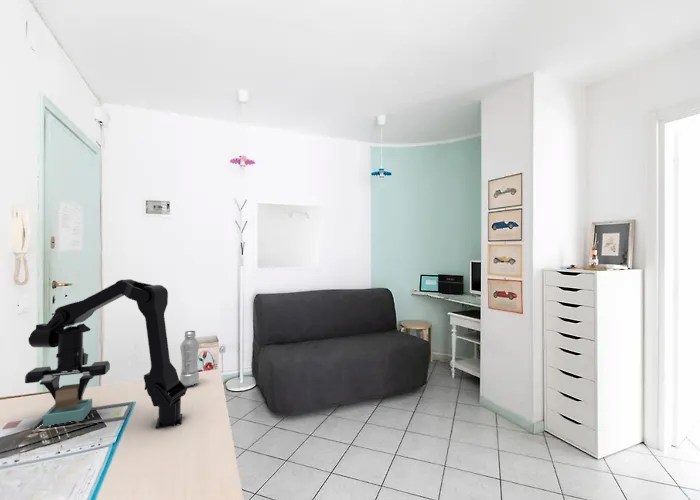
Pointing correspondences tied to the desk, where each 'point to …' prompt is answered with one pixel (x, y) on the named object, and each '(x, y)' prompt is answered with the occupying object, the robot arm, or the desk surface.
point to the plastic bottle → (189, 359)
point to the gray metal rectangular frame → (97, 409)
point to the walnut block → (67, 396)
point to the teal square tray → (67, 413)
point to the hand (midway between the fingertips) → (69, 400)
